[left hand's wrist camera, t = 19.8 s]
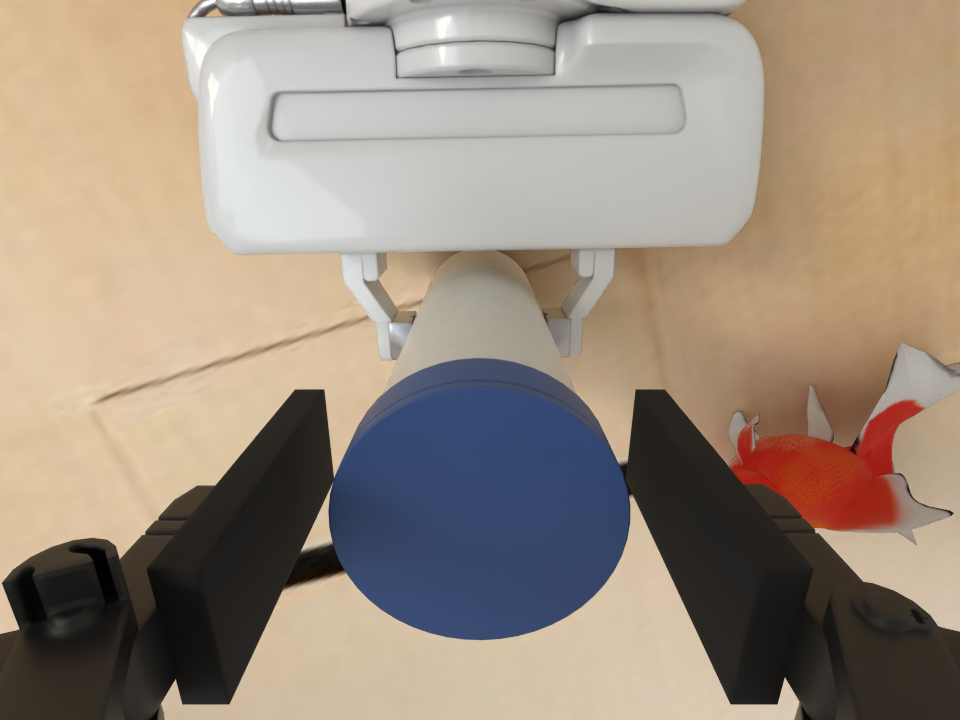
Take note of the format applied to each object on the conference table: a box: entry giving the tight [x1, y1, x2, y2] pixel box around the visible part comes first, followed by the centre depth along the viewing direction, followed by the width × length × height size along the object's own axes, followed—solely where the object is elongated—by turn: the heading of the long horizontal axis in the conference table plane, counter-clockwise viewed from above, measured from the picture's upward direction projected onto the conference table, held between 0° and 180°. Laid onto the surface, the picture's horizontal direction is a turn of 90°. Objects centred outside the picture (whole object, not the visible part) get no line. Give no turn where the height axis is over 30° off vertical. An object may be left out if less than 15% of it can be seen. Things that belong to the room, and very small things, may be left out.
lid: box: [329, 358, 630, 640], centre depth 11 cm, size 6×6×2 cm
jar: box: [383, 250, 576, 394], centre depth 20 cm, size 6×6×18 cm
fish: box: [728, 343, 960, 545], centre depth 27 cm, size 11×16×10 cm
